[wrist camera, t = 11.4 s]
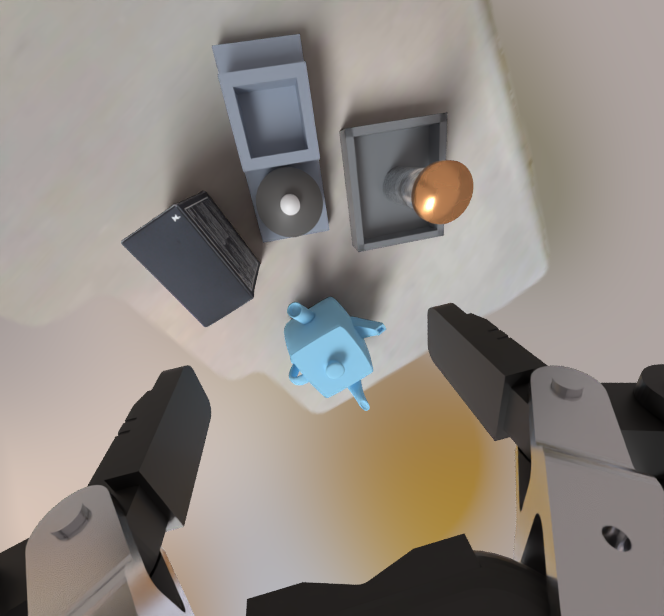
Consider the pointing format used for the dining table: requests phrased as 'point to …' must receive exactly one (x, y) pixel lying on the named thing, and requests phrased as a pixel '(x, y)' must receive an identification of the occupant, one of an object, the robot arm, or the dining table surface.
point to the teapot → (329, 348)
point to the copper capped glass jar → (431, 190)
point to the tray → (371, 169)
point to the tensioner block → (274, 133)
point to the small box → (197, 258)
